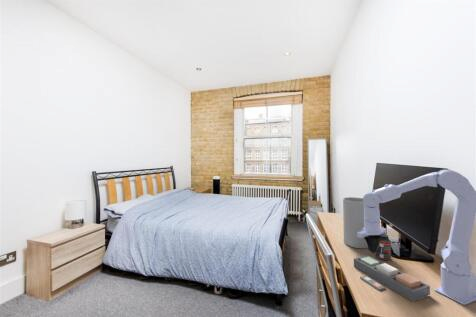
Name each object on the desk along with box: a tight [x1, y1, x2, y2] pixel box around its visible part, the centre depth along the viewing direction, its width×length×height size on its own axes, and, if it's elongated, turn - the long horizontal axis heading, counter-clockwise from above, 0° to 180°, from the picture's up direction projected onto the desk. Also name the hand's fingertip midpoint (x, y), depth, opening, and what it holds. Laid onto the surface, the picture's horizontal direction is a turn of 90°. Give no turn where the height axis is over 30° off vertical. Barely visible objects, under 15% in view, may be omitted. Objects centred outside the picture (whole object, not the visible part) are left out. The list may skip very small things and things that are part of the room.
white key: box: [376, 262, 399, 277], centre depth 81 cm, size 5×5×3 cm
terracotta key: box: [396, 272, 421, 290], centre depth 74 cm, size 5×5×3 cm
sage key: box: [360, 257, 380, 267], centre depth 88 cm, size 5×5×3 cm
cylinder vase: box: [342, 196, 369, 249], centre depth 113 cm, size 12×12×25 cm
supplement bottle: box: [375, 233, 392, 261], centre depth 97 cm, size 6×6×11 cm
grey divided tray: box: [353, 254, 431, 302], centre depth 81 cm, size 9×24×4 cm, turn 18°
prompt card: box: [359, 275, 386, 291], centre depth 78 cm, size 3×8×1 cm, turn 18°
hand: (372, 251), depth 86 cm, fingers closed
